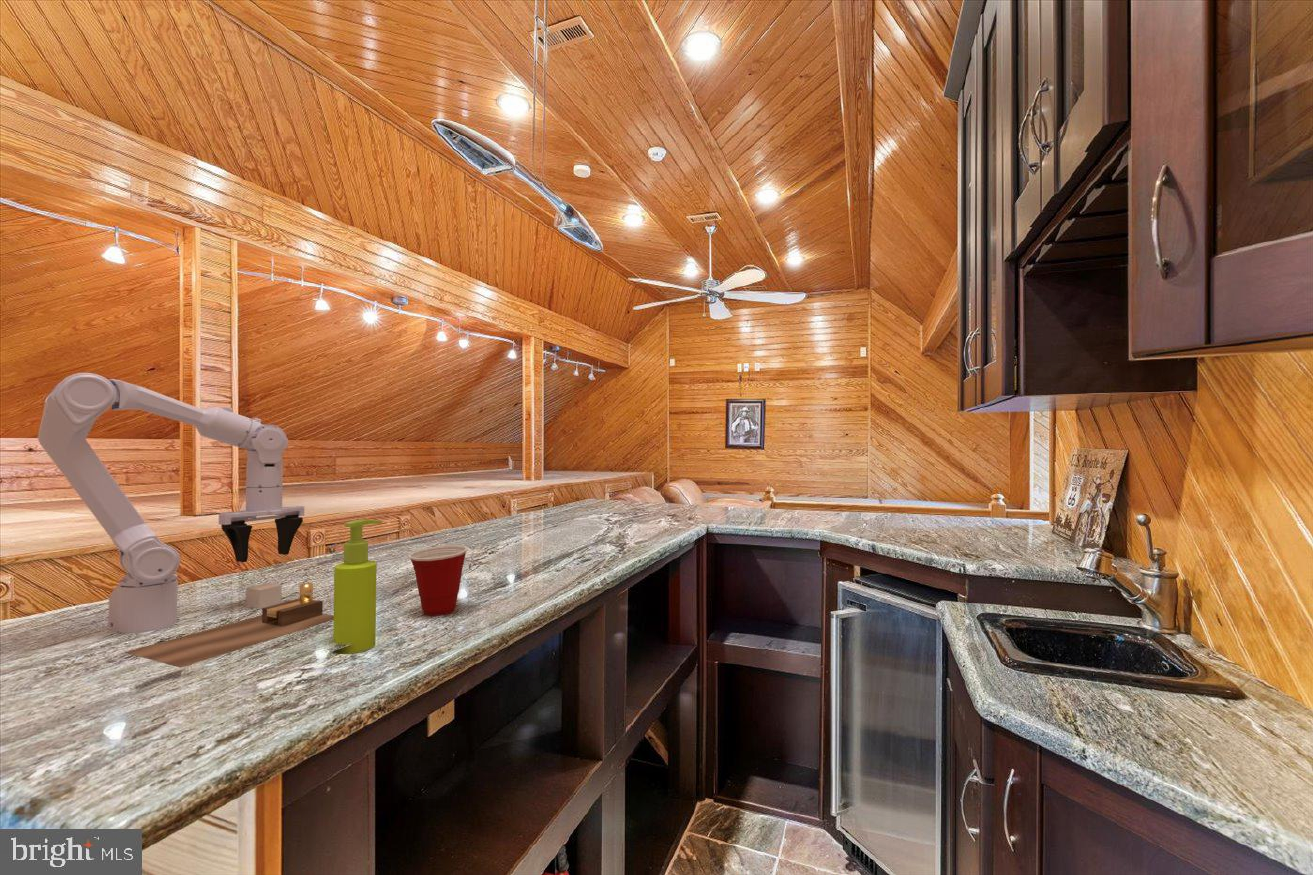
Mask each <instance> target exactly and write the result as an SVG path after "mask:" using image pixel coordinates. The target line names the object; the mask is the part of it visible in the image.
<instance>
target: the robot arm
mask: <svg viewBox="0 0 1313 875" xmlns="http://www.w3.org/2000/svg"><path fill="white" fill-rule="evenodd" d="M110 408H111V410H110V411H129V410H131V411H133V410H137V411H138V410H139V411H143V412H146V413H149V414H153V415H155V416H160V417H163V418H167V419H171V420H173V421H177V422H180V423H184V424H188V425H190V426H194V427H195V428H196V430H197V432H198V433H199V435H200V436H201V437H204V438H208V439H211V440H214V441H217V442H221V443H223V444H227V445H230V446H233V447H237V448H244V449H245V451H247V454H246V455H247V457H246V459H247V460H246V474H245V475H246V476H245V477H246V479H245V481H246V482H245V510H243V509H242V510H237V511H236V510H235V511H229V512H221V513H218V525H221V530H222V531H223V532H224V534H225V536H226V537H227V538H228V539H227V540H228V541H229V543H230V545H231V548H232V550H233V552H234V556H235V560H236V562H237V563H247V562H248V558H249V542H250V536H251V533H252V529H253V526H252V525H251V524H247V523H249V522H257V521H265V520H273V519H274V523H275V527H276V534H277V553H278V555H283V556H284V555H285V556H286V555H289V553H290V549H291V546H292V543H293V542H294V538H295V536H296V533H297V531H298V530H299V528H300V527H301V525H302V524H303V522H304V518H303V516H305V506H303V505H295V506H293V505H292V506H283V484H284V483H283V481H284V480H283V479H284V476H283V475H284V473H283V472H284V462H283V460H284V458H283V457H284V456H283V455H284V453H283V452H284V451H285V450H286V449H287V447H288V445H289V439H288V438H287V435H286V432H285V431H284V430H283V428H281V427H280V426H277V425H274V424H262V423H261V422H262V419H260V418H258V417H254V418H249V417H247V416H244V415H241V414H239V413H235V412H233V410H234V409H233V408H231V407H229V406H226V405H225V406H223V407H222V408H221V407H218V406H213V407H210V408H206V409H203V408H200V407H196V406H194V405H191V404H189V403H186V402H183V401H182V400H181V401H180V400H178V399H175V398H172V397H170V396H167V395H164V394H162V393H160V392H156V391H154V390H150V388H149V389H148V388H146V387H144V386H141V385H136V384H133V383H131V382H130V383H129V382H127V381H124V380H118V379H114V378H110V379H107V378H106V377H105V376H102V375H100V374H96V373H92V372H78V373H73V374H70V375H69V376H67V377H65V378H64V379H63V380H62V381H60V382H58V383H57V384H56V385H55V387H54V388H53V389H52V391H51V392H50V393H49V394H48V395H47V397H46V398H45V400H44V405H43V412H42V417H41V421H40V425H39V430H38V434H37V440H38V442H39V445H40V446H41V447H42V449H43V450H44V451H45V452H46V454H47V455H48V456H49V458H50V459H51V461H52V462H53V463H54V464H55V466H56V467H57V468H58V470H59V471H60V472H61V473H62V475H63V476H64V478H65V479H66V480H67V482H68V483H69V484H70V486H71V487H72V488H73V490H74V491H75V492H76V494H77V496H78V497H80V499H81V501H82V502H83V503H84V504H85V505H86V507H87V509H89V511H90V513H91V514H92V515H93V516H94V517H95V519H96V520H97V522H98V523H99V524H100V526H101V527H102V528H103V530H104V531H105V533H106V534H107V535H108V536H109V537H110V540H111V541H112V543H113V544H114V546H115V547H116V549H117V550H118V552H119V564H120V566H121V568H122V570H124V571H125V572H126V574H125V575H124V576H123V577H122V578H121V579H120V580H119V584H118V585H116V586H115V587H114V588H113V589H112V591H111V592H110V593H109V594H110V595H109V597H108V618H107V619H108V621H107V623H108V624H107V626H108V628H107V632H103V633H101V634H103V635H104V634H107V633H112V632H115V631H116V632H117V631H118V633H120V634H121V633H122V634H139V633H147V632H153V631H157V630H161V629H164V628H168V627H171V626H173V625H175V624H177V622H178V592H179V591H178V587H179V586H178V583H179V579H178V577H179V575H178V574H176V572H177V571H178V569H179V567H180V563H181V556H180V553H179V552H178V551H177V550H176V549H175V547H172V546H170V545H169V544H166V543H164V542H163V541H161V540H160V538H159V537H158V535H157V534H156V533H155V532H154V531H153V530H152V529H151V528H150V526H149V525H148V524H147V523H146V521H145V520H144V518H142V516H141V515H140V513H139V512H138V510H137V509H136V508H135V506H134V504H133V503H132V502H131V500H130V499H129V498H128V496H127V495H126V493H125V492H124V491H123V489H122V487H120V485H119V484H118V482H117V481H116V480H115V479H114V476H112V474H111V473H110V471H109V470H108V469H107V467H106V466H105V464H104V463H103V462H102V460H101V459H100V457H99V456H98V455H97V453H96V452H95V451H94V449H93V448H92V446H91V445H90V444H89V442H88V440H87V438H88V435H89V434H90V432H91V430H92V428H93V427H94V425H95V423H96V420H97V419H98V418H100V416H102V415H103V414H104V413H106V412H107V411H108V410H109V409H110Z"/></svg>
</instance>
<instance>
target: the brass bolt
mask: <svg viewBox="0 0 1313 875" xmlns="http://www.w3.org/2000/svg"><path fill="white" fill-rule="evenodd" d="M299 598H300V601H297V602H293V603H289V604H285V605H281V606H278V607H274V608H270V609H267V616H268V617H273V618H278V611H280V610H283V609H287V608H291V607H295V606H298V605H302V604H306V603H309V602H313V601H317V600H316V599H314V583H313V582H305V583H301V584H299Z"/></svg>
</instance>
